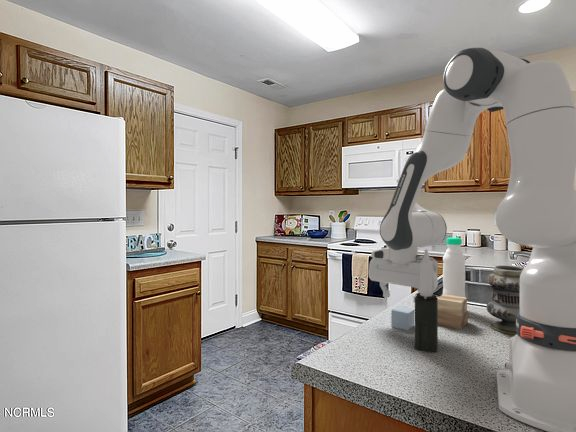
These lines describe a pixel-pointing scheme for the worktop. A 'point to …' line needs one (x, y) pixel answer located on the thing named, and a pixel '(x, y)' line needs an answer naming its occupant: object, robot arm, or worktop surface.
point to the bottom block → (453, 320)
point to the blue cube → (402, 318)
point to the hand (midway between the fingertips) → (401, 299)
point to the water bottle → (454, 269)
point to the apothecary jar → (505, 297)
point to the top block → (452, 305)
